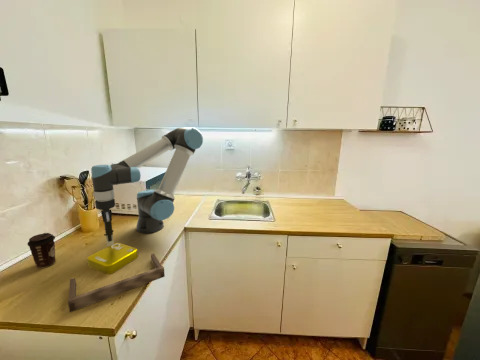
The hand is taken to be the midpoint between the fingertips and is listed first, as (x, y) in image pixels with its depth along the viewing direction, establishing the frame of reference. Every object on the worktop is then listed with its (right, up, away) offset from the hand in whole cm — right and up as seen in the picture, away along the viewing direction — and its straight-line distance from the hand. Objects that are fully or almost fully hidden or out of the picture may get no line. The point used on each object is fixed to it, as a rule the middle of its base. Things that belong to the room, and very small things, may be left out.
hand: (110, 246), depth 101 cm
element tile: (+5, -5, -6) cm, 10 cm away
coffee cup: (-22, -5, -9) cm, 25 cm away
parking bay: (+15, -8, -19) cm, 26 cm away
